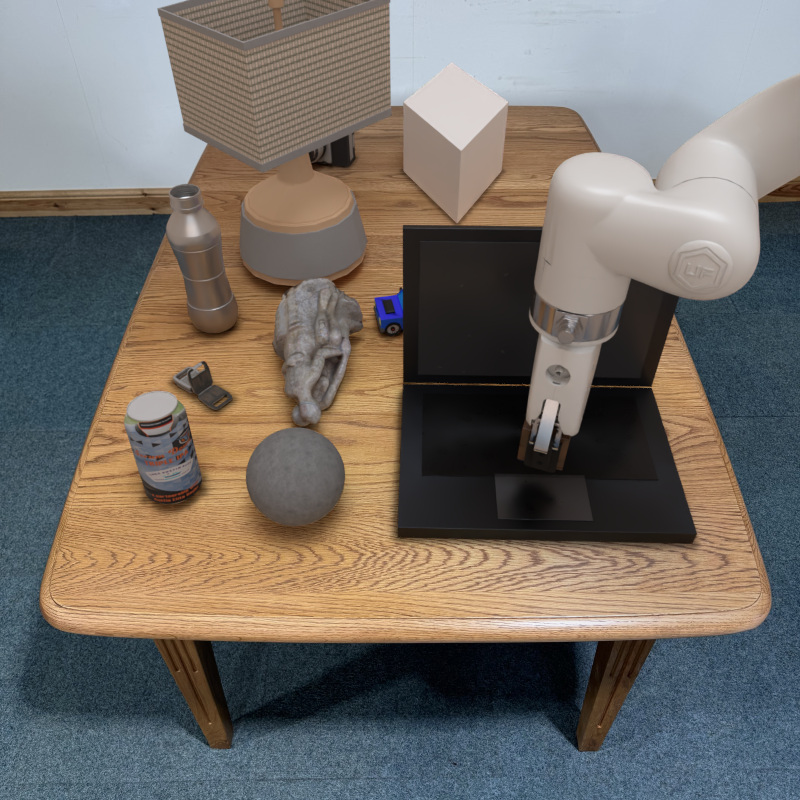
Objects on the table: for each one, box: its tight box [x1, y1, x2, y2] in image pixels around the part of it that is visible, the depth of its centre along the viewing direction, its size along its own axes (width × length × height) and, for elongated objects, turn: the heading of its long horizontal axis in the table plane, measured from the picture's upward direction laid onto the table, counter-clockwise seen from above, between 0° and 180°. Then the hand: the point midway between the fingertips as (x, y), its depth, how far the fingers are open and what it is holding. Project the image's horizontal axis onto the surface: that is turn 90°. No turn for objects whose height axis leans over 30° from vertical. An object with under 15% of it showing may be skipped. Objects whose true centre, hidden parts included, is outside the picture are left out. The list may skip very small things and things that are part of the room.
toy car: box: [373, 286, 403, 337], centre depth 97 cm, size 7×12×5 cm, turn 101°
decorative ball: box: [245, 426, 346, 527], centre depth 74 cm, size 10×10×10 cm
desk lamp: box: [156, 0, 393, 287], centre depth 97 cm, size 22×19×37 cm
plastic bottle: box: [165, 183, 239, 334], centre depth 92 cm, size 6×7×20 cm
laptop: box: [397, 383, 698, 545], centre depth 81 cm, size 21×30×2 cm
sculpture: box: [272, 278, 365, 427], centre depth 88 cm, size 11×18×12 cm
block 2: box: [517, 412, 571, 470], centre depth 72 cm, size 5×5×5 cm
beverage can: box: [123, 390, 203, 505], centre depth 75 cm, size 6×7×12 cm
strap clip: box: [172, 360, 233, 411], centre depth 88 cm, size 8×3×4 cm, turn 51°
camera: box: [309, 132, 356, 168], centre depth 128 cm, size 14×8×10 cm, turn 73°
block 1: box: [402, 61, 509, 224], centre depth 125 cm, size 18×35×12 cm, turn 179°
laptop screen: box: [402, 224, 680, 388], centre depth 81 cm, size 21×30×1 cm
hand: (545, 446), depth 73 cm, fingers closed on block 2, 4 cm apart
